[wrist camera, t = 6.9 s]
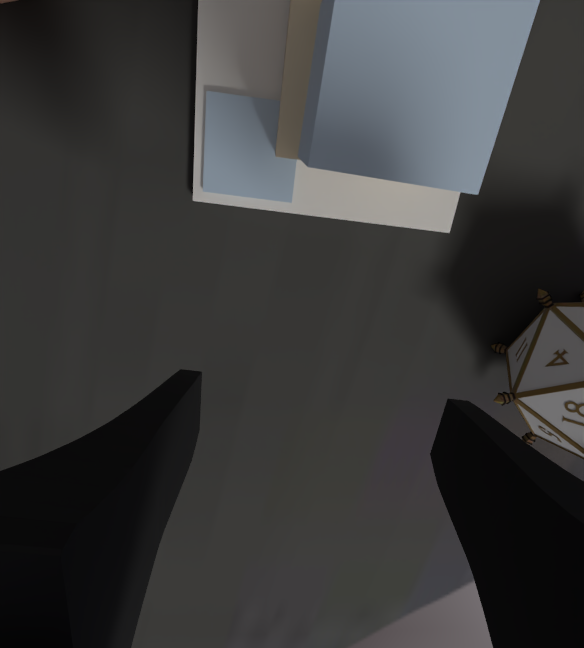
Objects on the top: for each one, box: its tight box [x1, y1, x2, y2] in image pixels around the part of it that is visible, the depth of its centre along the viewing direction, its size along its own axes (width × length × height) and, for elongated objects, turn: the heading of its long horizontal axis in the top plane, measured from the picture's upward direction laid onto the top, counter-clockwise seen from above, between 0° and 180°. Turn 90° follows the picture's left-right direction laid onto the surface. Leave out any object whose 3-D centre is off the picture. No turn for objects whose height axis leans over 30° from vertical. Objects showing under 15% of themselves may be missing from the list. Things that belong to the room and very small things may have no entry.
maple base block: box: [275, 0, 322, 160], centre depth 16 cm, size 7×7×4 cm
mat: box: [193, 0, 460, 233], centre depth 18 cm, size 12×12×1 cm
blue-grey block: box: [298, 0, 540, 195], centre depth 12 cm, size 4×4×5 cm
